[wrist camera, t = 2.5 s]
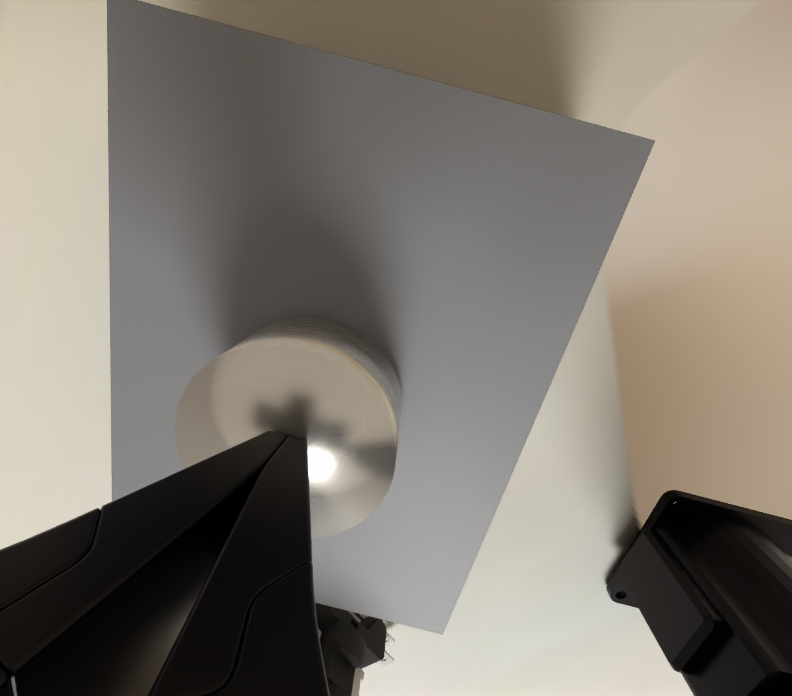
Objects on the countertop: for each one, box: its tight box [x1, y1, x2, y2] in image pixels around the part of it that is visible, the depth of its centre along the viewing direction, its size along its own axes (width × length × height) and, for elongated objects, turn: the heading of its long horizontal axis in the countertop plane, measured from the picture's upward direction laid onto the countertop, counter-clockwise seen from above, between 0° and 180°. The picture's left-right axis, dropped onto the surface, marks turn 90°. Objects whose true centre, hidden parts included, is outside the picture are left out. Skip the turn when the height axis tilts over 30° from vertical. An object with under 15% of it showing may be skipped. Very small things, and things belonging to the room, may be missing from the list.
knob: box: [175, 316, 402, 539], centre depth 11 cm, size 5×5×8 cm
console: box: [107, 0, 655, 635], centre depth 13 cm, size 12×16×5 cm
